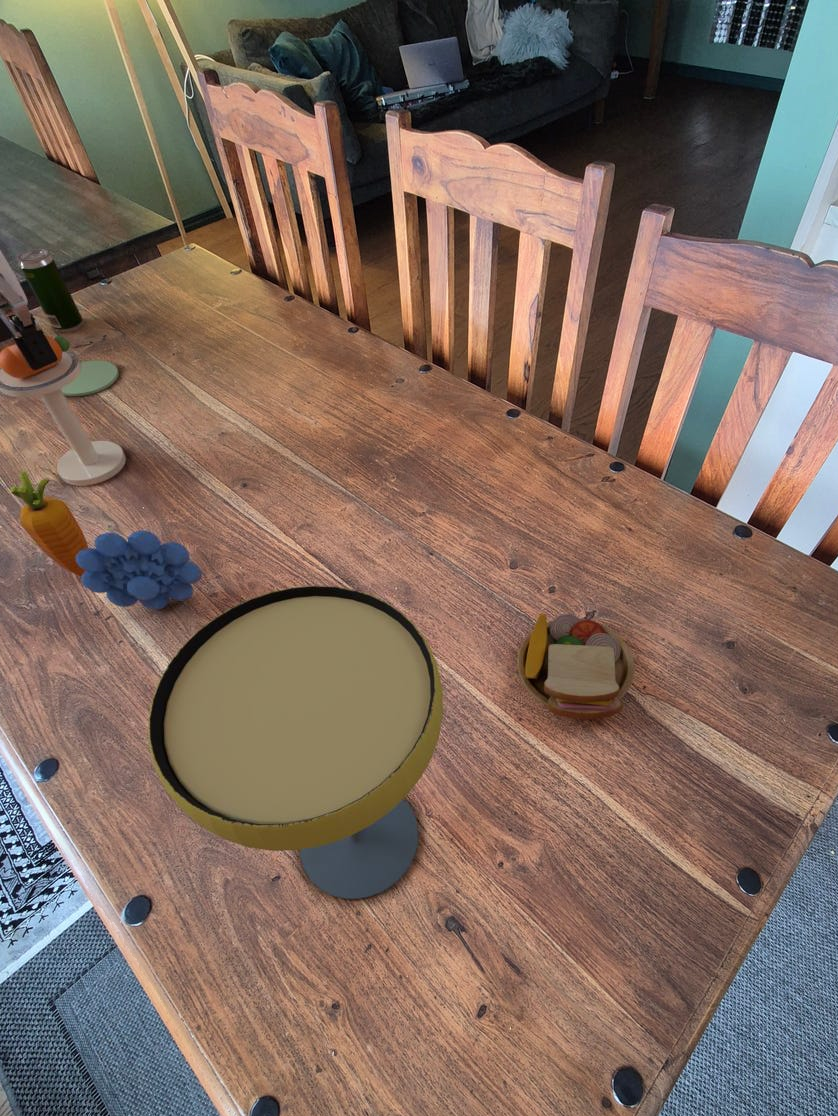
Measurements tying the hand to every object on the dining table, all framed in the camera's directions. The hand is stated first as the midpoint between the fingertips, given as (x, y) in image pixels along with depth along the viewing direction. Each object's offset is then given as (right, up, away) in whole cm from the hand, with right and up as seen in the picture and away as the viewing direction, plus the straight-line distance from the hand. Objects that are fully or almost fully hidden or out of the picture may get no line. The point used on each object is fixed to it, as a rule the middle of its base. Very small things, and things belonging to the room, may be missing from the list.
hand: (26, 351), depth 81 cm
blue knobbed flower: (+18, -32, -3) cm, 37 cm away
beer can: (-19, +21, +39) cm, 48 cm away
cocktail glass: (+45, -54, -20) cm, 73 cm away
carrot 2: (+7, -28, 0) cm, 29 cm away
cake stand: (0, -10, +14) cm, 17 cm away
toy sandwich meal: (+66, -39, -10) cm, 78 cm away
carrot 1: (0, -1, +2) cm, 2 cm away
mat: (-9, +8, +28) cm, 30 cm away
